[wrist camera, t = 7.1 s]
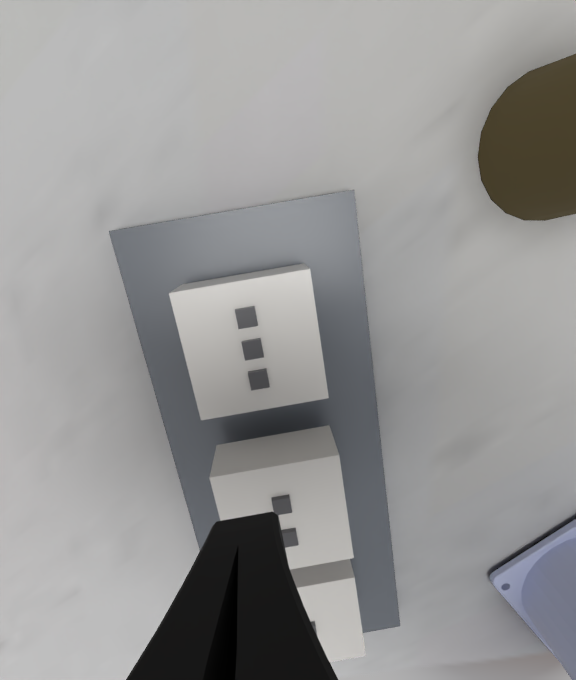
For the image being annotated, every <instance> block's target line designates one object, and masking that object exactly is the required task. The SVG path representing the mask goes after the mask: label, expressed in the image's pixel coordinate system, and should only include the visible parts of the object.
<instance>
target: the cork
mask: <svg viewBox="0 0 576 680" xmlns="http://www.w3.org/2000/svg"><path fill="white" fill-rule="evenodd" d="M478 161H479V167H480V174H481V180H482V182H483V184H484V186H485V188H486V190H487V192H488V194H489V196H490V198H491V200H492V201H494V202H495V203H496V204H497V205H498V206H499V207H500V208H501V209H502V210H503V211H504V212H505V213H507V214H510V215H512V216H515V217H518V218H520V219H523V220H549V219H553V218H558V217H562V216H567V215H571V214H576V54H574V55H572V56H569V57H566V58H564V59H561V60H558V61H556V62H553V63H550V64H548V65H545V66H543V67H540V68H537V69H535V70H532V71H529V72H528V73H526V74H525V75H523V76H522V77H521V78H519V79H518V80H517V81H515V82H514V83H513V84H511V85H510V86H509V87H507V89H506V90H505V91H504V93H503V94H502V95H501V96H500V98H499V99H498V100H497V102H496V103H495V104H494V105H493V107H492V108H491V110H490V113H489V115H488V118H487V120H486V122H485V125H484V127H483V130H482V132H481V138H480V146H479V153H478Z"/></svg>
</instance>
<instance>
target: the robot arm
mask: <svg viewBox="0 0 576 680" xmlns="http://www.w3.org/2000/svg"><path fill="white" fill-rule="evenodd" d="M490 581H491V582H492V584H493V585H494V587H495V588H496V589H497V590H498V591H499V592H500V594H501V595H502V596H503V597H504V598H505V599H506V601H507V602H508V603H509V604H510V605H511V606H512V607H513V609H514V610H515V611H516V612H517V613H518V614H519V615H520V617H521V618H522V619H523V620H524V621H525V622H526V624H527V625H528V626H529V627H530V628H531V629H532V630H533V632H534V633H535V634H536V635H537V636H538V637H539V639H540V640H541V641H542V642H543V643H544V644H545V645H546V647H547V648H548V649H549V650H550V651H551V652H552V654H553V655H554V656H555V657H556V658H557V659H558V660H559V662H560V663H561V664H562V666H563V667H564V669H565V670H566V672H567V673H568V675H569V676H570V677H571V679H572V680H576V519H575V520H573V521H572V522H570V523H568V524H567V525H565V526H564V527H562V528H561V529H559V530H558V531H556V532H554V533H553V534H551V535H550V536H548V537H547V538H545V539H543V540H542V541H540V542H539V543H537V544H536V545H534V546H533V547H531V548H529V549H528V550H526V551H525V552H523V553H522V554H520V555H518V556H517V557H515V558H514V559H512V560H511V561H509V562H508V563H506V564H504V565H503V566H501V567H500V568H498V569H497V570H495V571H494V572H492V573H491V575H490ZM126 680H338V679H337V677H336V675H335V673H334V671H333V669H332V667H331V664H330V662H329V660H328V658H327V656H326V654H325V652H324V650H323V648H322V646H321V644H320V641H319V639H318V637H317V635H316V633H315V631H314V628H313V626H312V624H311V622H310V619H309V617H308V615H307V612H306V610H305V608H304V605H303V603H302V600H301V598H300V595H299V593H298V590H297V587H296V585H295V582H294V580H293V577H292V574H291V571H290V569H289V565H288V560H287V555H286V550H285V546H284V541H283V536H282V531H281V526H280V521H279V516H278V515H277V514H275V513H274V512H267V513H262V514H256V515H250V516H245V517H239V518H233V519H228V520H222V521H217V522H216V523H215V524H214V525H213V526H212V528H211V530H210V532H209V534H208V536H207V538H206V540H205V542H204V544H203V546H202V548H201V550H200V552H199V554H198V556H197V558H196V560H195V562H194V564H193V566H192V568H191V570H190V572H189V574H188V575H187V577H186V579H185V581H184V583H183V585H182V587H181V588H180V590H179V592H178V594H177V595H176V597H175V599H174V601H173V603H172V604H171V606H170V608H169V610H168V611H167V613H166V615H165V617H164V619H163V620H162V622H161V624H160V626H159V627H158V629H157V631H156V632H155V634H154V636H153V637H152V639H151V640H150V642H149V644H148V645H147V647H146V649H145V650H144V652H143V653H142V655H141V657H140V658H139V660H138V662H137V663H136V665H135V666H134V668H133V670H132V671H131V673H130V674H129V676H128V678H127V679H126Z"/></svg>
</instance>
